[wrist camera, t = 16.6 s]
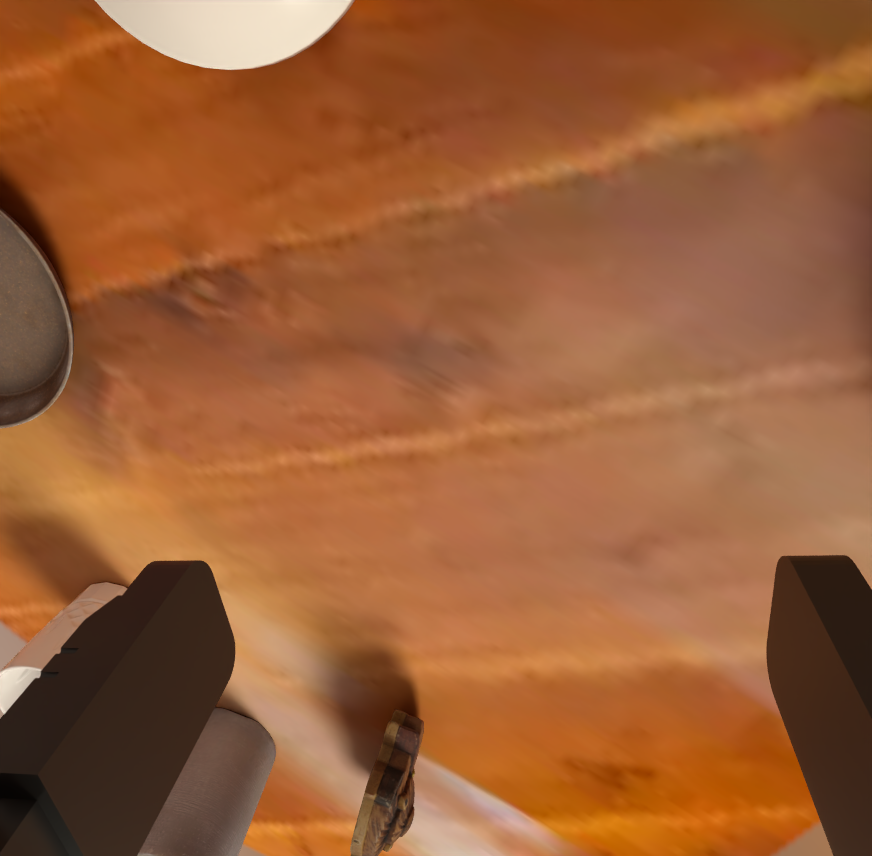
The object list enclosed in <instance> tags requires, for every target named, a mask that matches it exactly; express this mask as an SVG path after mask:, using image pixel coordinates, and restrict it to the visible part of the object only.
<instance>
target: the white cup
mask: <svg viewBox="0 0 872 856" xmlns="http://www.w3.org/2000/svg"><path fill="white" fill-rule="evenodd" d="M127 589H128V588H126V587H124V586H121V585H117V584H113V583H108V582H104V583H97V584H91V585H90V586H89V587H87V588H86V589H85V590H84V591H83V592H81V593H80V594H79V595H78V596H77V597H76V598H75V599H74V600H73V601H72V602H71V604H69V605H68V606H67V607H65V608H63V609H62V610H61V611H60V612H59V613H58V614H57V616H56V617H54V618H53V619H52V620H51V621H50V622H49V623H48V624H47V625H46V626H45V627H44V628H43V629H42V630H41V631H40V632H38V633H37V634H36V635H35V636H34V637H33V638H32V639H31V640H30V641H29V643H28V644H27V645H26V646H25V647H24V648H23V649H22V650H21V651H20V652H19V653H18V654H17V655H16V656H15V657H14V658H13V659H12V660H11V661H10V662H9V663H8V664H7V665H6V666H5V667H4V668H3V669H2V670H1V671H0V710H1V711H2V712H3V713H4V714H5V713H6V712H7V710H8V709H9V708H10V707H11V706H12V704H13V703H14V702H15V701H16V700H17V699H18V697H19V696H20V695H21V694H22V693H23V692H24V690H25V689H26V688H27V687H28V686H29V684H30V683H31V682H32V681H33V680H34V679H35V678H39V677H40V675H41V670H42V669H43V668H44V667H45V666H46V664H47V663H48V662H49V661H50V660H51V659H52V657H53V656H54V655H55V654H60V652H61V647H62V646H63V644H64V643H65V642H66V641H67V640H68V639H69V637H70V636H71V635H72V634H73V633H74V632H75V630H76V629H77V628H78V627H79V626H80V624H81V623H82V622H83V621H84V620H85V619H86V618H87V617H89V616H90V615H92V614H93V613H94V612H96V611H97V610H98V609H100V608H101V607H102V606H104V605H105V604H107V603H108V602H109V601H111V600H112V599H113V598H115V597H116V596H117V595H123V594H124V592H125V591H126V590H127Z"/></svg>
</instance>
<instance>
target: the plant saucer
mask: <svg viewBox="0 0 872 856" xmlns="http://www.w3.org/2000/svg"><path fill="white" fill-rule="evenodd" d="M73 351H74V333H73V323H72V316H71V312H70V307H69V304H68V300H67V297H66V294H65V291H64V288H63V286H62V284H61V282H60V279H59V277H58V275H57V273H56V271H55V269H54V267H53V266H52V264H51V262H50V261H49V259H48V258H47V256H46V255H45V253H44V252H43V250H42V249H41V248H40V246H39V245H38V244H37V243H36V241H35V240H34V239H33V238H32V237H31V236H30V234H29V233H28V232H27V231H26V230H25V229H24V228H23V227H22V226H21V225H20V224H19V223H18V222H17V221H16V220H15V219H14V218H12V217H11V216H10V215H9V214H8V213H7V212H5V211H4V210H3V209H2V208H0V428H7V427H12V426H16V425H20V424H22V423H25V422H28V421H30V420H32V419H34V418H36V417H38V416H39V415H41V414H42V413H44V412H45V411H46V410H47V409H48V408H49V407H50V406H51V405H52V404H53V403H54V402H55V401H56V400H57V398H58V397H59V395H60V394H61V392H62V390H63V389H64V387H65V384H66V382H67V379H68V377H69V373H70V369H71V365H72V359H73Z"/></svg>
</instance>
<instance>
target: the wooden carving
mask: <svg viewBox="0 0 872 856" xmlns="http://www.w3.org/2000/svg"><path fill="white" fill-rule="evenodd" d="M423 732H424V723H423V721H422V720H420V719H419V718H416V717H413V716H410V715H407V713H405V712H403V711H400V710H398V709H395V711H394V713H393V716H392V719H391V721H389V722H388V724H387V727H386V730H385V734H384V739H383V743H382V746H381V749H380V752H379V755H378V757H377V760H376V762H375V765H374V767H373V770H372V772H371V775H370V778H369V780H368V783H367V786H366V790H365V794H364V797H363V801H362V805H361V808H360V811H359V815H358V819H357V823H356V826H355V830H354V834H353V838H352V844H351V856H378V855H379V854H380V853H381V851H382V850H384V851H386V852H387V851H389V850H390V849H391V848H392V846H393V843H394V842H395V841H396V840H397V839H398V838H399V837H402V836H403V835H404V834H405V833H406V832H407V831H408V830H409V828H410V826H411V824H412V821H413V817H414V807H413V804H414V793H415V792H414V781H413V777H414V775H415V771H414V765H415V762H416V759H417V756H418V752H419V748H420V745H421V742H422V737H423Z"/></svg>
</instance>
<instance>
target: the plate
mask: <svg viewBox="0 0 872 856" xmlns="http://www.w3.org/2000/svg"><path fill="white" fill-rule="evenodd" d="M95 1H96V2H97V3H98V4H99V6H100V7H101V8H102V9H103V10H104V11H105V12H106V13H107V14H108V15H109V16H110V17H111V18H112V19H113V20H115V21H116V22H117V23H118V24H119V25H120V26H121V27H122V28H123V29H125V30H126V31H127V32H129V33H130V34H131V35H133V36H134V37H136V38H137V39H138V40H140V41H141V42H143V43H144V44H146V45H148V46H149V47H151V48H153V49H155V50H157V51H159V52H160V53H162V54H164V55H167V56H169V57H172V58H174V59H177V60H179V61H182V62H184V63H188V64H192V65H197V66H201V67H205V68H215V69H226V70H239V69H254V68H259V67H264V66H268V65H272V64H276V63H278V62H281V61H283V60H286V59H288V58H291V57H293V56H295V55H297V54H299V53H300V52H302V51H304V50H305V49H307V48H309V47H310V46H312V45H314V44H315V43H316V42H317V41H318V40H320V39H321V38H322V37H323V36H324V35H326V34H327V33H328V32H329V31H330V30H331V29H332V28H333V27H334V26H335V25H336V24H337V23H338V22H339V20H340V19H341V18H342V17H343V16H344V15H345V14H346V13H347V11H348V10H349V8H350V7H351V5H352V4H353V2H354V1H355V0H95Z"/></svg>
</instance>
